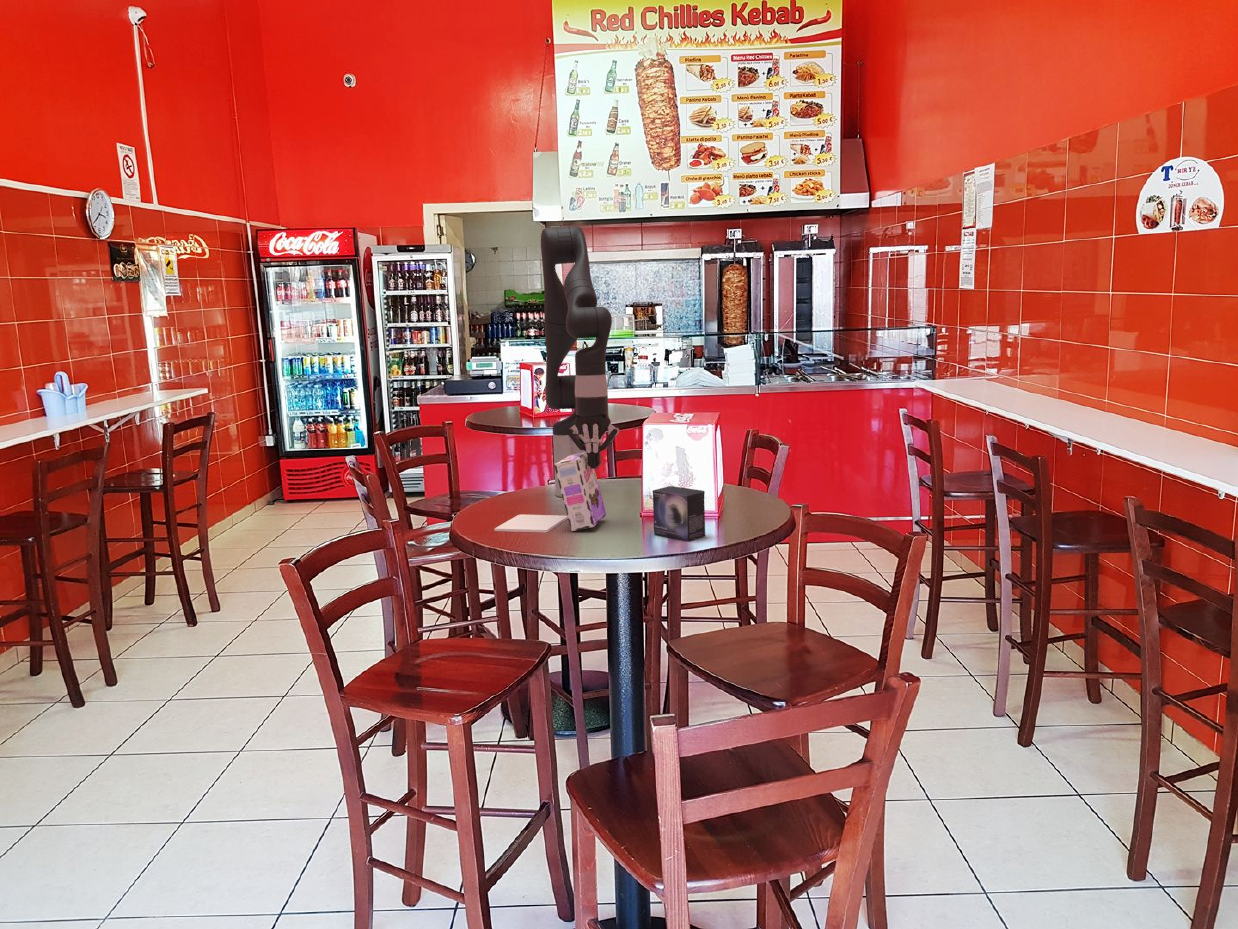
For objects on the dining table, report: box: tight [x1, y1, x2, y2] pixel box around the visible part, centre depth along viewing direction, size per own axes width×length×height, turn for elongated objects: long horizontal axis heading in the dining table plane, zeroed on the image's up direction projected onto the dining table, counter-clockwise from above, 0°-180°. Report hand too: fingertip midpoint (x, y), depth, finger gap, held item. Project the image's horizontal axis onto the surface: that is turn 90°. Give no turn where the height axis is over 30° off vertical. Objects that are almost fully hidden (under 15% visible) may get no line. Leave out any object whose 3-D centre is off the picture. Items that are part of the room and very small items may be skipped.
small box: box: [652, 485, 706, 542], centre depth 214 cm, size 11×6×10 cm, turn 45°
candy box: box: [553, 452, 607, 532], centre depth 226 cm, size 14×6×16 cm, turn 168°
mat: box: [494, 514, 568, 534], centre depth 231 cm, size 16×13×1 cm
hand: (594, 468), depth 225 cm, fingers closed
